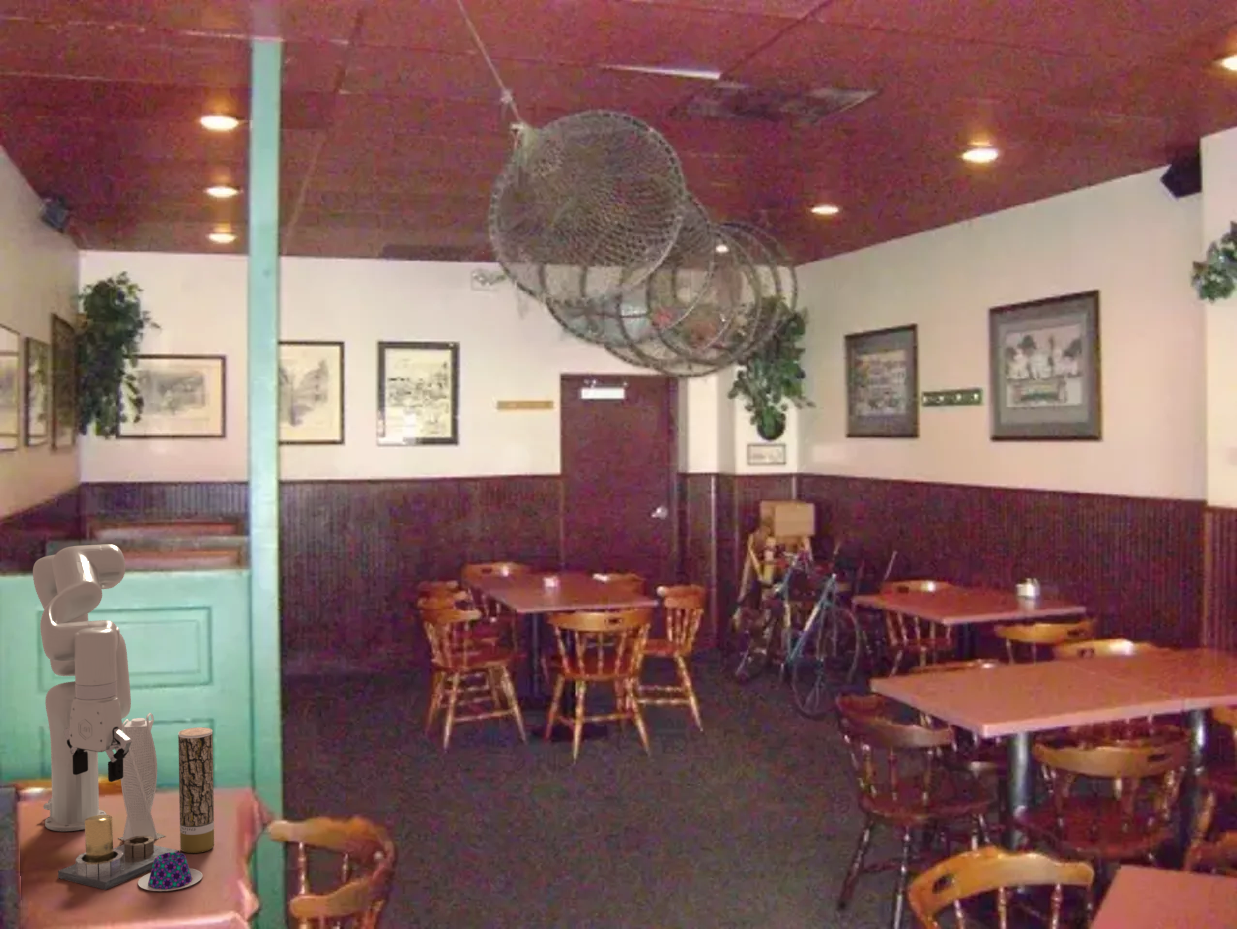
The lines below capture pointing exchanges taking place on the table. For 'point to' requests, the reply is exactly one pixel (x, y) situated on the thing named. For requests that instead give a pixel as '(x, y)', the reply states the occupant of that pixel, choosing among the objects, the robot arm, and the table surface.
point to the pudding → (170, 873)
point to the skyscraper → (139, 779)
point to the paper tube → (196, 789)
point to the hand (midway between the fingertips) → (98, 776)
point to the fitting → (99, 838)
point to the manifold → (116, 864)
